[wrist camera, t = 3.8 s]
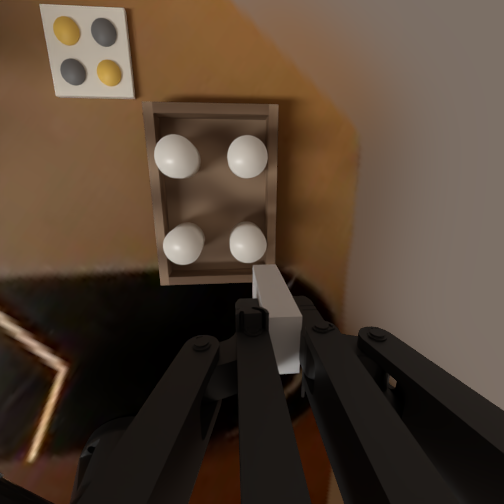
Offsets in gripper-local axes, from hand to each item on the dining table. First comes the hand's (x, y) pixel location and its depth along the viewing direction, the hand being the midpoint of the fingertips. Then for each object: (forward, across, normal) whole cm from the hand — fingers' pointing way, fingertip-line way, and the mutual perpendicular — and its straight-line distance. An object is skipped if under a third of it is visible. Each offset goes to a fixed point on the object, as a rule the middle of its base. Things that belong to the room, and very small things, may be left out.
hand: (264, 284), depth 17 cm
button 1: (+16, 0, 0) cm, 16 cm away
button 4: (+16, +7, -9) cm, 19 cm away
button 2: (+16, 0, -9) cm, 18 cm away
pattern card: (+18, +16, -19) cm, 31 cm away
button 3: (+16, +7, 0) cm, 17 cm away
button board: (+18, +4, -4) cm, 18 cm away
